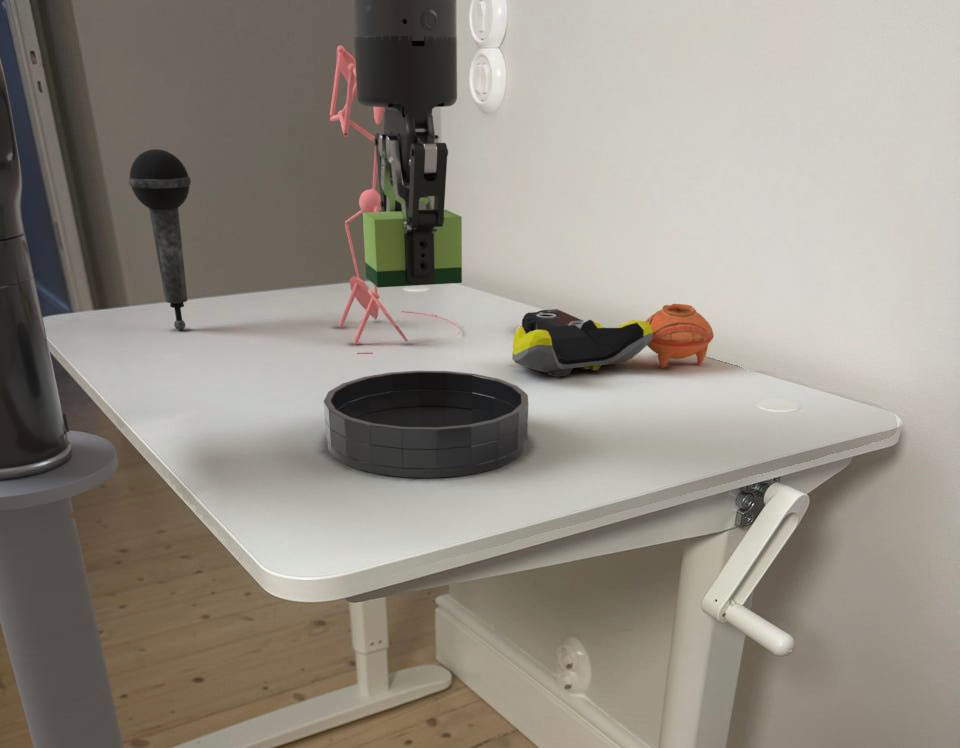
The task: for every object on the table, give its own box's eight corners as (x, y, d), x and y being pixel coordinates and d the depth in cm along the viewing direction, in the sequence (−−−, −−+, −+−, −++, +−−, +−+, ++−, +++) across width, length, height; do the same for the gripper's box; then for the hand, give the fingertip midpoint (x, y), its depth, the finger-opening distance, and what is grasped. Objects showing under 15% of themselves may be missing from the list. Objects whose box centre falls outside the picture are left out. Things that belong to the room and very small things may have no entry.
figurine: (362, 362, 109) (342, -18, 91) (320, 314, 130) (298, -2, 112) (493, 353, 113) (499, -13, 95) (432, 307, 134) (428, 1, 117)
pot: (705, 351, 113) (716, 294, 109) (708, 385, 108) (719, 327, 103) (635, 346, 114) (643, 289, 109) (635, 379, 108) (643, 321, 104)
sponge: (377, 287, 78) (374, 219, 76) (365, 277, 82) (362, 212, 79) (462, 283, 80) (461, 216, 77) (447, 273, 84) (446, 209, 81)
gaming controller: (656, 374, 106) (608, 353, 113) (662, 322, 103) (612, 303, 111) (532, 390, 100) (490, 366, 108) (534, 334, 97) (491, 314, 105)
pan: (347, 487, 76) (344, 437, 74) (314, 421, 91) (310, 377, 89) (555, 466, 81) (557, 419, 79) (492, 406, 95) (493, 365, 93)
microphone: (139, 332, 120) (110, 149, 110) (177, 321, 125) (152, 146, 115) (184, 339, 117) (158, 152, 107) (220, 327, 123) (199, 148, 113)
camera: (548, 325, 114) (514, 308, 123) (549, 349, 116) (515, 331, 125) (598, 317, 116) (560, 301, 125) (598, 341, 117) (561, 323, 126)
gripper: (337, 34, 77) (350, 265, 86) (375, 28, 65) (386, 297, 74) (430, 35, 79) (434, 261, 88) (483, 30, 67) (482, 291, 76)
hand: (412, 276), depth 81 cm, fingers closed on sponge, 4 cm apart
